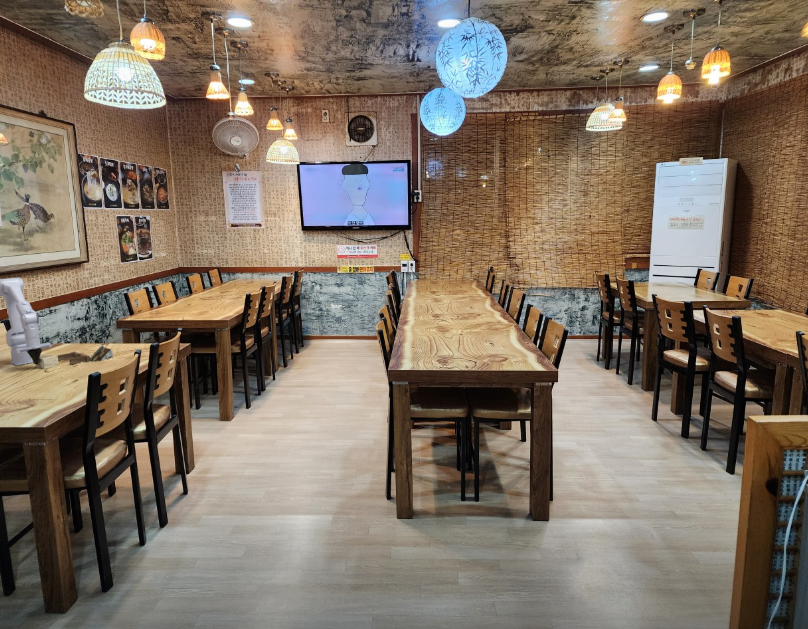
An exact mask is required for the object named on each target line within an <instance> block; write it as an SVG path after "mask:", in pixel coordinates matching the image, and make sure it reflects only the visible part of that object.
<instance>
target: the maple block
mask: <svg viewBox="0 0 808 629" xmlns="http://www.w3.org/2000/svg"><path fill="white" fill-rule="evenodd" d="M35 366H36V368H38V367H39V369H44V370H47V369H50V368H55V366H56V367H58V356H57V355H53V354H52V355H51V354H46V355H40V357H39V364H36V365H35ZM46 368H47V369H46Z"/></svg>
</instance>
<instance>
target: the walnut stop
mask: <svg viewBox="0 0 808 629" xmlns="http://www.w3.org/2000/svg"><path fill="white" fill-rule="evenodd" d="M90 357H91V355H88V354H85V353H80V352H77V351H71V352H68V353H63V354H58V355H57V362H58V361H59V362H62V361H61V360H64V361H67V360H66V359H68V361H69V362H68V363H69V365H70V366H73V365H72V364H74V365H78V364H82V363H81V362H83V363H90V362H89V361H90V360H89V359H90ZM77 363H78V364H77Z"/></svg>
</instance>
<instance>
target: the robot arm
mask: <svg viewBox="0 0 808 629" xmlns="http://www.w3.org/2000/svg"><path fill="white" fill-rule="evenodd" d="M24 287H25V283H24V280H23V279H22V277H19V276H18V277H11V278H0V297H3V299H4V302H5V306H6V310H7V315H8V320H9V324H10V329H9V330H7V331H6V333H5V341H6V344H7V346H8V347H9V348H10V357H11V361H9V362H10V363H9V364H11V365H13V366H23V365H27V363H28V364H31V363H32V364H33V365H35V366H36V364H39V357H40V356H42V355H41V354H42V352H43V349H45V348H52V342H47V343H41V340H40V339H41V338H40V333H39V325H38V324H39V322H40V318H39V314H38V312H36V311H35V310H33V307H32V305H31V304H30V302H29V301H27V300H26V299H25V296H24V293H23V291H24ZM22 364H23V365H22Z"/></svg>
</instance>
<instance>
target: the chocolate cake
mask: <svg viewBox="0 0 808 629" xmlns="http://www.w3.org/2000/svg"><path fill="white" fill-rule="evenodd" d="M113 354H114V353H113V349H111V348H108V347H104V343H102V344H101V345H100V347H98V348H97V350H96V351H95V352H93V353H92V355H90V359H89V360H90V361H91V362H94V361H96V362H97V361H98V362H102V361H105V359H107V360H109V359H110V358H111V357H112V358H113V356H114V355H113ZM112 358H111V359H112ZM93 360H94V361H93Z"/></svg>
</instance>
